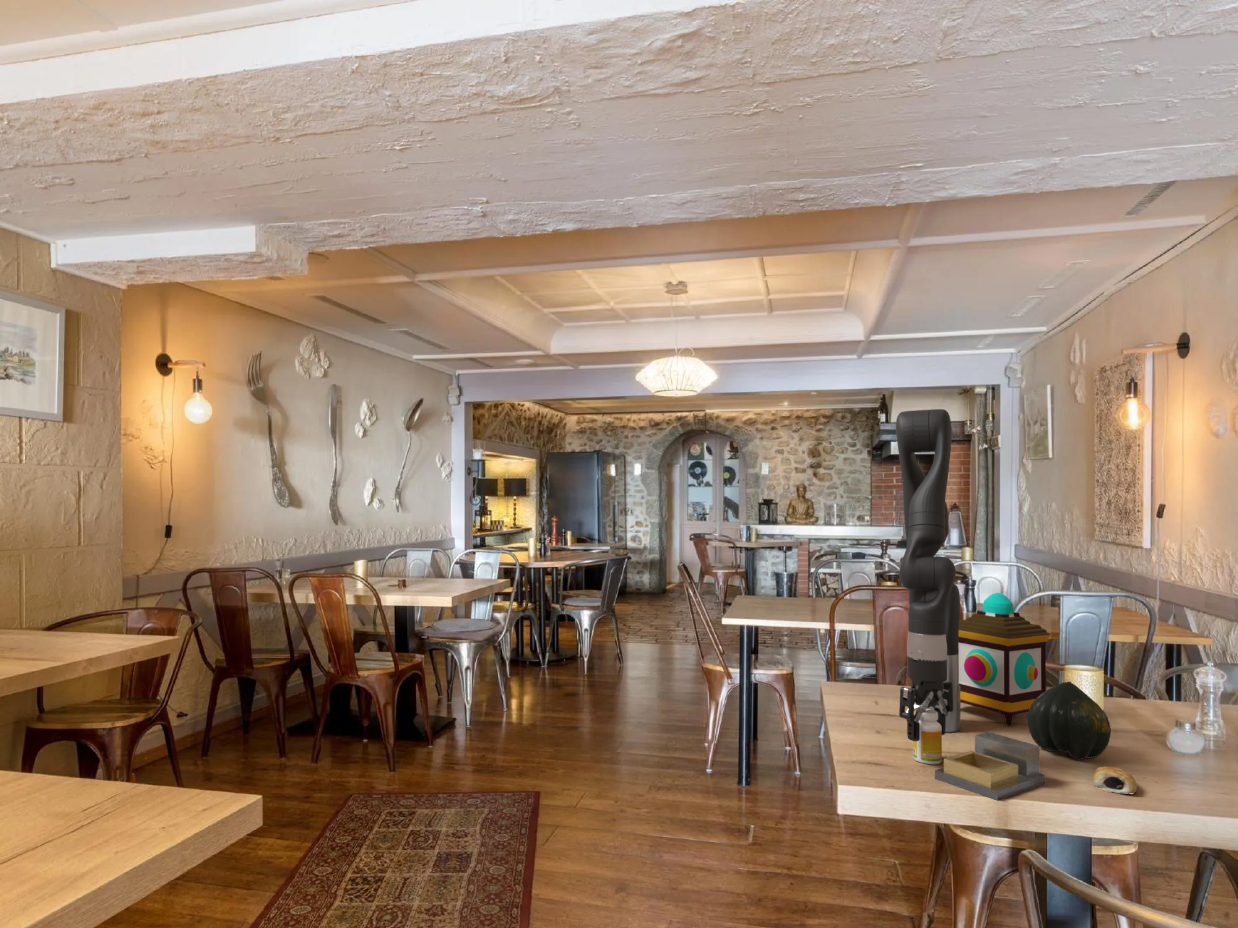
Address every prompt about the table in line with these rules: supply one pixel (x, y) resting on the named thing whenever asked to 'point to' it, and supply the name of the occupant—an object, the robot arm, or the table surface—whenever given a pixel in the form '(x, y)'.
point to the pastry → (1114, 780)
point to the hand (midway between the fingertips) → (926, 737)
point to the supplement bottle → (929, 739)
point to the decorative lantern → (1001, 659)
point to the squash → (1069, 722)
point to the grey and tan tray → (994, 767)
